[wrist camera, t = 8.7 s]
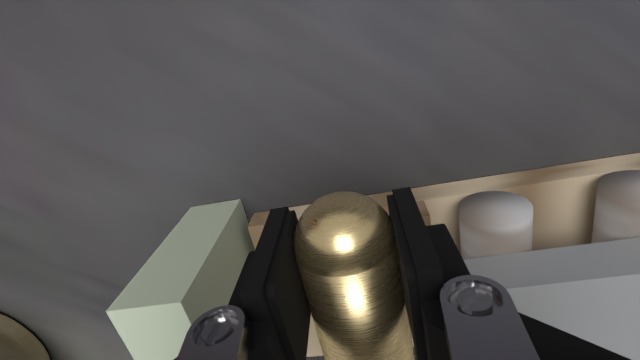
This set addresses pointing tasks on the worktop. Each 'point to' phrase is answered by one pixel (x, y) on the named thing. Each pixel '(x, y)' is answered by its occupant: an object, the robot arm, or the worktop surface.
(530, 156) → the worktop surface
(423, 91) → the worktop surface
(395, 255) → the brass roller
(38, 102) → the worktop surface
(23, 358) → the planter bowl
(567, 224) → the roller track
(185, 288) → the bar
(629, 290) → the slab
